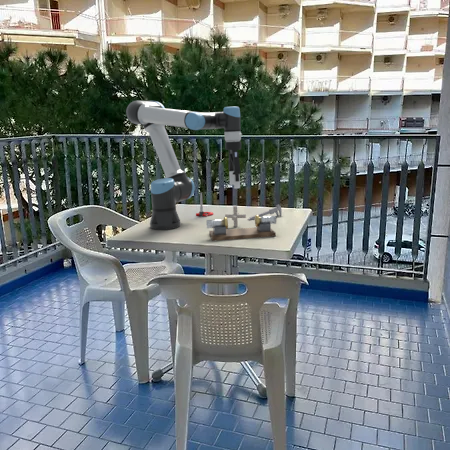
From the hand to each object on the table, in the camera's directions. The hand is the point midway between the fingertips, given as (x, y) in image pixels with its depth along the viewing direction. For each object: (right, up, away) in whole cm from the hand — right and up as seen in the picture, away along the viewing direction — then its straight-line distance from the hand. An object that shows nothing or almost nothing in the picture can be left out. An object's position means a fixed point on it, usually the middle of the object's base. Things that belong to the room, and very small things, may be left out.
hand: (234, 186), depth 202 cm
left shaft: (-8, -22, -13) cm, 27 cm away
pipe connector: (+1, -19, +5) cm, 20 cm away
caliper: (+16, -15, +21) cm, 31 cm away
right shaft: (+14, -21, -11) cm, 27 cm away
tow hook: (-16, -13, +34) cm, 40 cm away
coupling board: (+3, -23, -12) cm, 26 cm away
